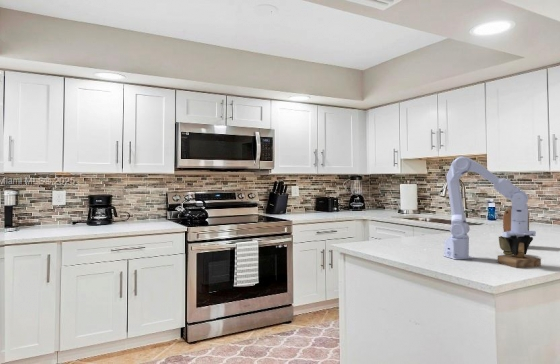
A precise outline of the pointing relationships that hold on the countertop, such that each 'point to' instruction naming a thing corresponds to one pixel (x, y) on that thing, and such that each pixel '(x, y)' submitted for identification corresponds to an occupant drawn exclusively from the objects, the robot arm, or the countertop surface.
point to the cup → (504, 245)
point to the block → (509, 220)
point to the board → (519, 261)
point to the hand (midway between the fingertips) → (518, 254)
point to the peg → (520, 251)
